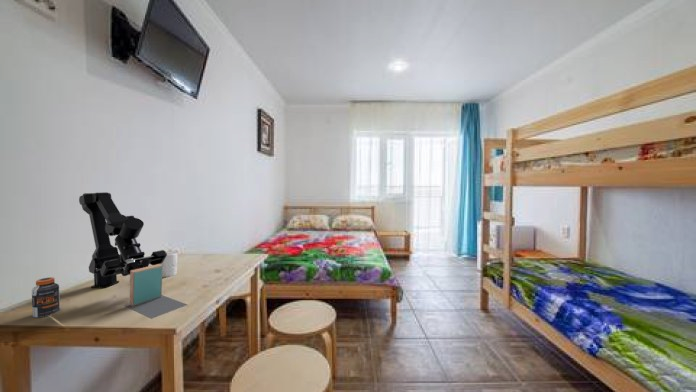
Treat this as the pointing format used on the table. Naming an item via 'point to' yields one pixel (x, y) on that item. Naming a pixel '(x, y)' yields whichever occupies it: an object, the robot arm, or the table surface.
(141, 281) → the tile
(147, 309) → the mat
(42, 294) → the pill bottle
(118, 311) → the table surface
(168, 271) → the white cup
